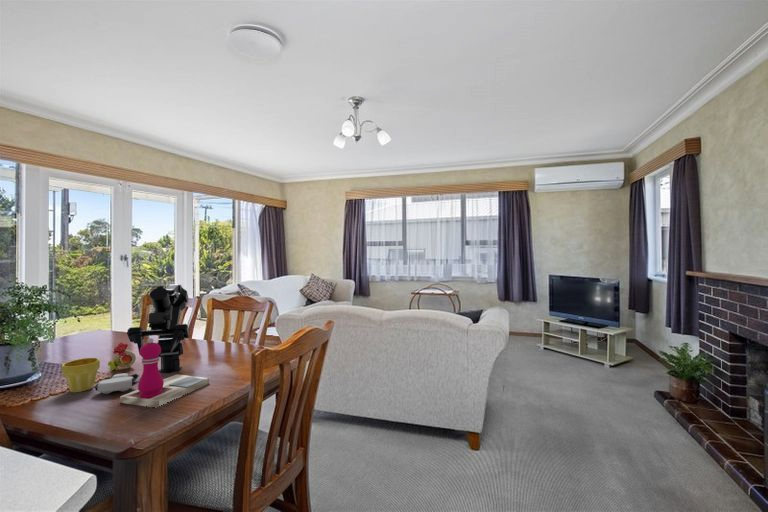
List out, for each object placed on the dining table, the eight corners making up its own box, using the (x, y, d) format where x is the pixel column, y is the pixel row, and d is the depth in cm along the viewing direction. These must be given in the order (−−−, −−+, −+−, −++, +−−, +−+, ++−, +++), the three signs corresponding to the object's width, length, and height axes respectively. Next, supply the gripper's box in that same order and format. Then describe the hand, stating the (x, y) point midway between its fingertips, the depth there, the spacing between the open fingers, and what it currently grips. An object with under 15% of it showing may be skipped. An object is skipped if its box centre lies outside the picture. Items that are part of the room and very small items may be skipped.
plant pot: (59, 397, 124) (58, 368, 123) (65, 387, 132) (65, 360, 132) (98, 390, 129) (97, 362, 129) (101, 381, 138) (101, 355, 138)
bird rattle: (129, 370, 157) (105, 365, 153) (141, 345, 159) (118, 339, 155) (128, 375, 152) (103, 369, 147) (141, 349, 154) (116, 343, 150)
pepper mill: (168, 396, 123) (167, 337, 123) (144, 404, 117) (143, 342, 117) (157, 392, 127) (156, 334, 127) (133, 399, 121) (132, 339, 121)
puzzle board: (120, 402, 119) (120, 395, 119) (177, 379, 140) (176, 373, 140) (156, 408, 114) (156, 400, 114) (209, 383, 135) (209, 377, 135)
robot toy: (102, 387, 135) (90, 398, 122) (102, 374, 135) (90, 385, 122) (141, 381, 140) (135, 392, 127) (141, 369, 141) (135, 379, 127)
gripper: (128, 304, 130) (117, 343, 119) (187, 302, 136) (182, 338, 126) (135, 323, 137) (126, 360, 127) (190, 319, 144) (186, 355, 133)
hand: (155, 353), depth 128 cm, fingers open, 9 cm apart
